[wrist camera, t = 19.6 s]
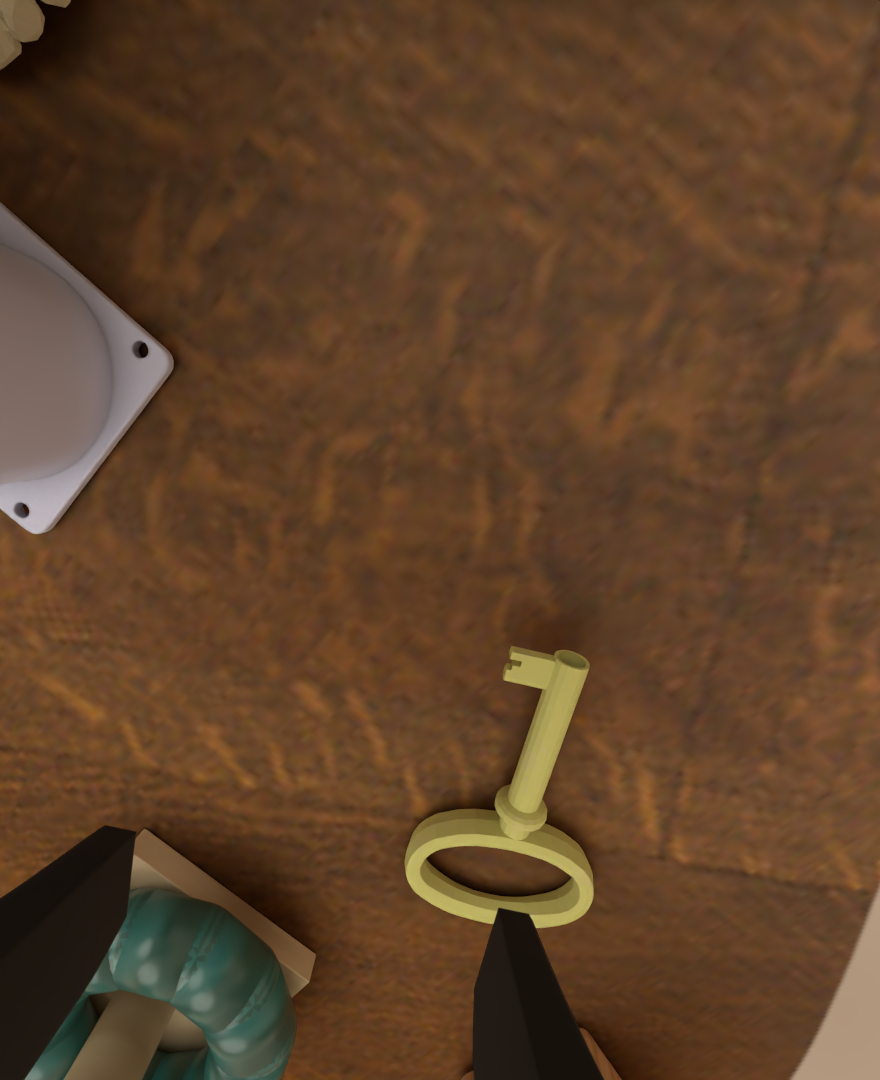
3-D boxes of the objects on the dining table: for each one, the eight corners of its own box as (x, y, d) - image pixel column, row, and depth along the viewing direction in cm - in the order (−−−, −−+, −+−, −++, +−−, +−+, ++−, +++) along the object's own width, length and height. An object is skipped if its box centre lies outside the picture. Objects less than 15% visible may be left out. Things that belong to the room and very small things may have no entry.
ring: (-21, 973, 23) (-93, 1056, 20) (152, 819, 21) (101, 887, 18) (180, 1125, 24) (142, 1224, 21) (358, 996, 22) (343, 1084, 19)
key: (579, 624, 20) (593, 650, 18) (590, 907, 22) (603, 958, 20) (379, 639, 20) (370, 666, 18) (414, 915, 23) (410, 966, 21)
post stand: (25, 956, 24) (-139, 1162, 17) (145, 827, 22) (14, 1000, 16) (190, 1068, 25) (97, 1301, 18) (316, 954, 23) (262, 1164, 17)
